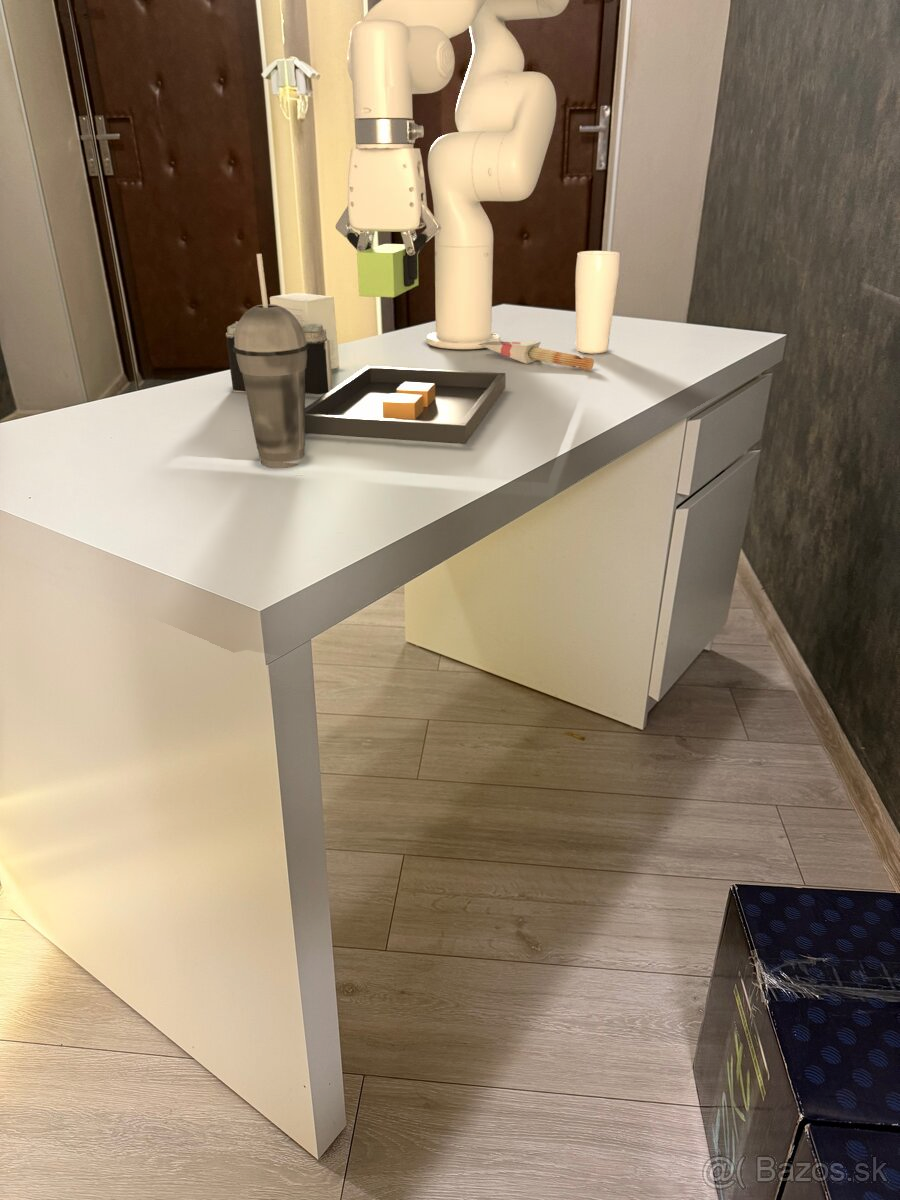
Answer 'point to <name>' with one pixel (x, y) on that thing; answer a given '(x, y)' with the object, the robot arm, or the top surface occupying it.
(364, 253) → the sponge
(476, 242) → the robot arm
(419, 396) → the block
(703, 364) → the top surface
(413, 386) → the block
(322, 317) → the small box
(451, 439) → the pan
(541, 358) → the paintbrush
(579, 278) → the drinking glass
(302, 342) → the beverage cup
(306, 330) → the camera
